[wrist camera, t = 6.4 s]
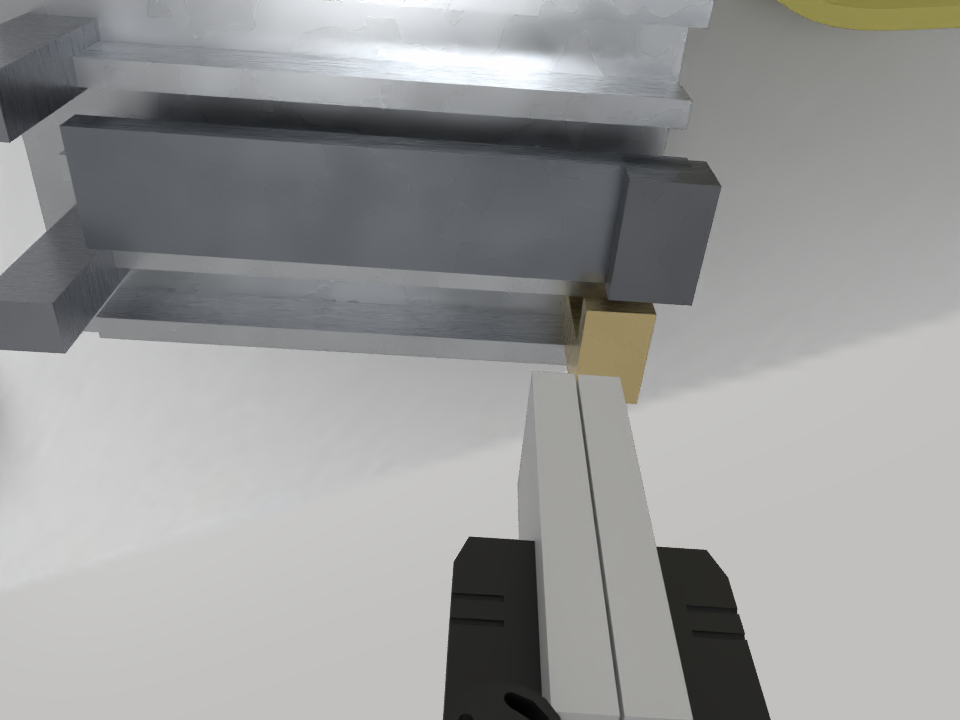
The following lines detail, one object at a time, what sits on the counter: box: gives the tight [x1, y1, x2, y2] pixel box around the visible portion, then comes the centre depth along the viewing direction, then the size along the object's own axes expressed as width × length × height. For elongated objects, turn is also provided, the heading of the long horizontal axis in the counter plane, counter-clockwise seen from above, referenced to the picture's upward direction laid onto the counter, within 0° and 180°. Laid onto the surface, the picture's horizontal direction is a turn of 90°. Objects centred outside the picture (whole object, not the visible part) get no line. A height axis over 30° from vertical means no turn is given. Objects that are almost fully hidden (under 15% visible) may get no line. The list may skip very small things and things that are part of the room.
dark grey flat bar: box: [59, 114, 721, 306], centre depth 23 cm, size 18×4×2 cm, turn 86°
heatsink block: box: [0, 0, 714, 404], centre depth 26 cm, size 20×14×12 cm
